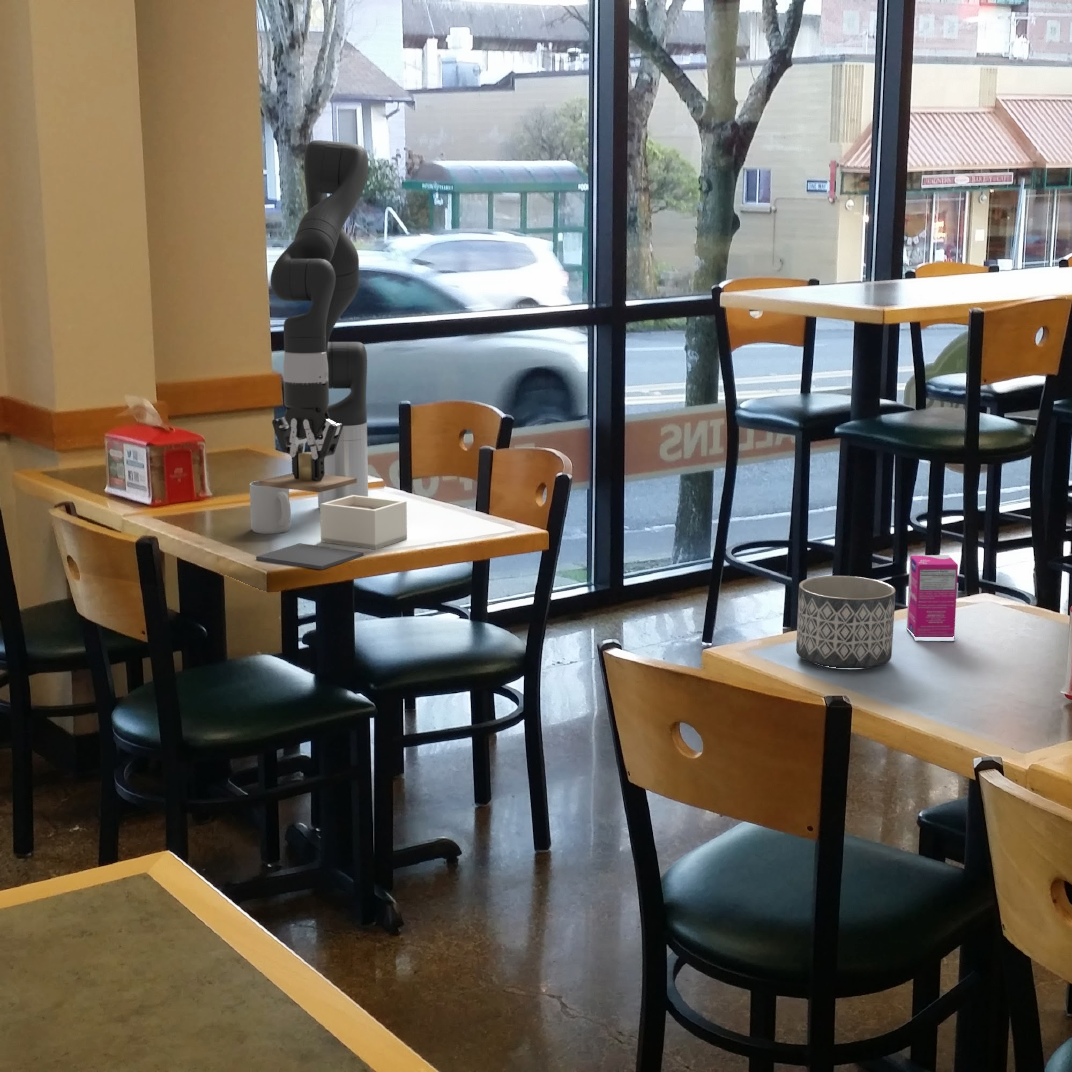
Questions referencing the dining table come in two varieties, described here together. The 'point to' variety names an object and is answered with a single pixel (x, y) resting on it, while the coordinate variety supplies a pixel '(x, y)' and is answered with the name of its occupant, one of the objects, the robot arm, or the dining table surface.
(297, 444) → the robot arm
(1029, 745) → the dining table surface
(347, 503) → the tea box
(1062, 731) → the dining table surface
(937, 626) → the supplement box
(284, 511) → the cup
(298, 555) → the mat
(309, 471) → the lid
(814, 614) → the planter
